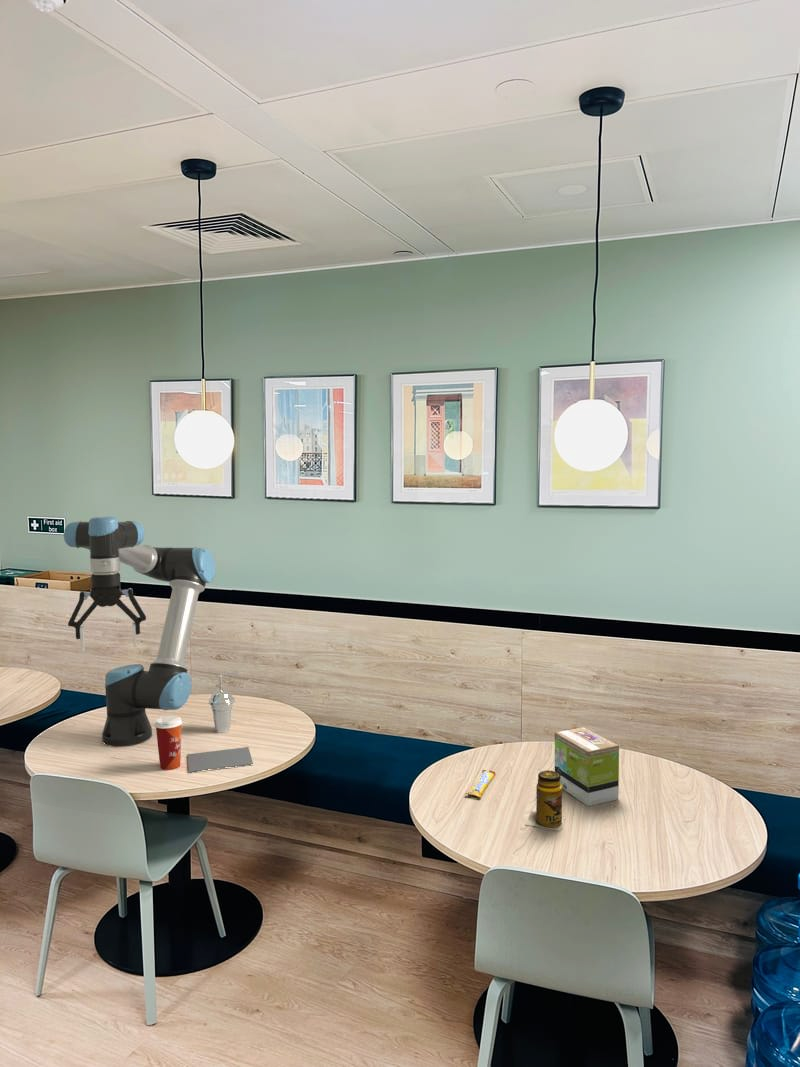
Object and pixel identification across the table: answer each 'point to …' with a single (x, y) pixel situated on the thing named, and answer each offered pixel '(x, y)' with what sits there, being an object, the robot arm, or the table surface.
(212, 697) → the cup with straw
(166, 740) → the paper cup
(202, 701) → the table surface
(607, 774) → the tea box
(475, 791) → the candy bar
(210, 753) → the mat
